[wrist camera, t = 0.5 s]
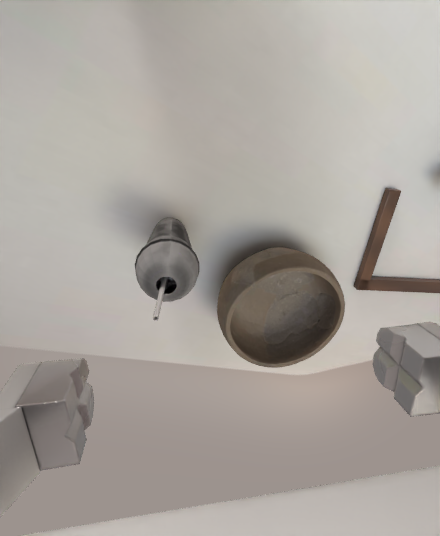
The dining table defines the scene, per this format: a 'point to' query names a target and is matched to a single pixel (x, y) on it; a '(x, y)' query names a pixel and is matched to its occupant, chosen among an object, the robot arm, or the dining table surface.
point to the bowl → (279, 307)
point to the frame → (373, 251)
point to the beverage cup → (167, 264)
